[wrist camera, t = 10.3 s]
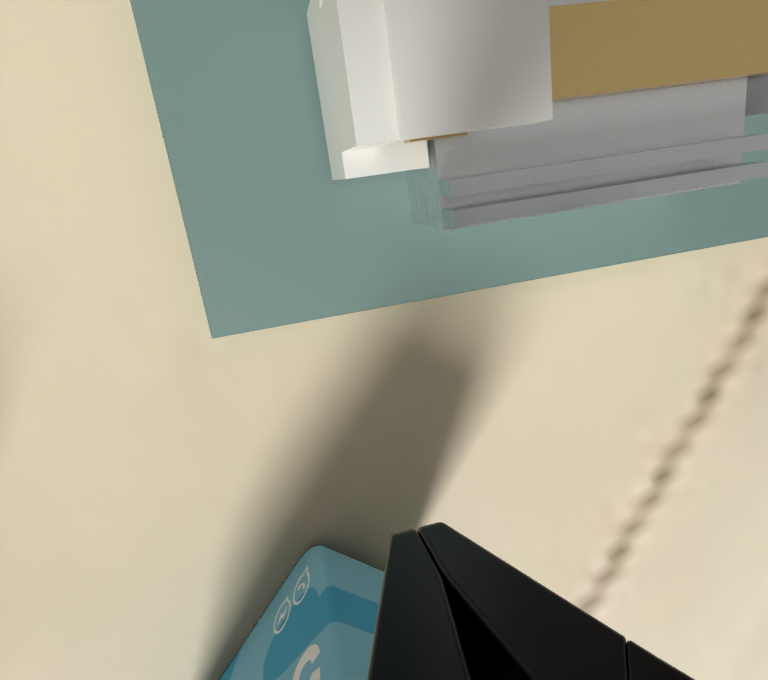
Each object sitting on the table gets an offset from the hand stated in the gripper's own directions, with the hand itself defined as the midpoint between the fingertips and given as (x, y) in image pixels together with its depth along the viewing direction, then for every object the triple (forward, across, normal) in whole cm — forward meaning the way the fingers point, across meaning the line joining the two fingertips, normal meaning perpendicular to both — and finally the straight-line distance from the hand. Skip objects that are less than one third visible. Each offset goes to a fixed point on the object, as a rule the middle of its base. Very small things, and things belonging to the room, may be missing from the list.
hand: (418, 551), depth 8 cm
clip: (+11, -3, -8) cm, 14 cm away
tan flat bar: (+8, -9, -8) cm, 14 cm away
